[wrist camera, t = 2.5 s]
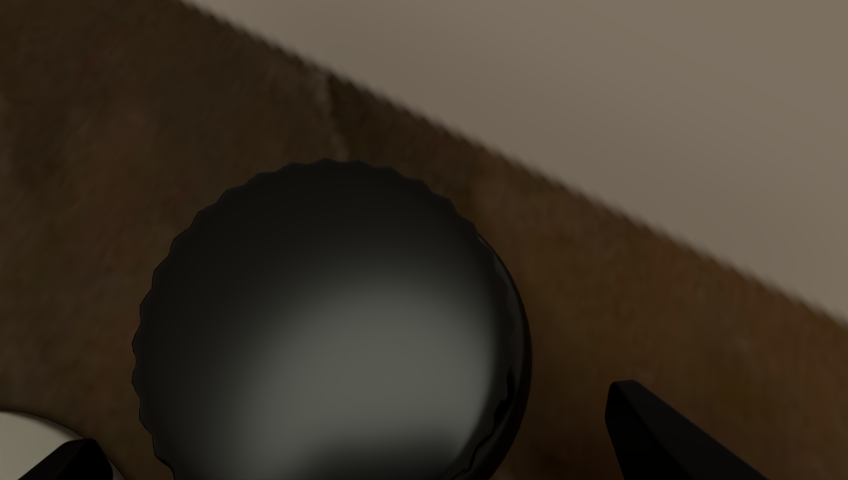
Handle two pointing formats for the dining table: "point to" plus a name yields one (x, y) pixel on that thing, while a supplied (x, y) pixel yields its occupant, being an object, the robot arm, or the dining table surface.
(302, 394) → the supplement bottle
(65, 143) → the dining table surface
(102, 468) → the robot arm
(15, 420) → the cream plate
